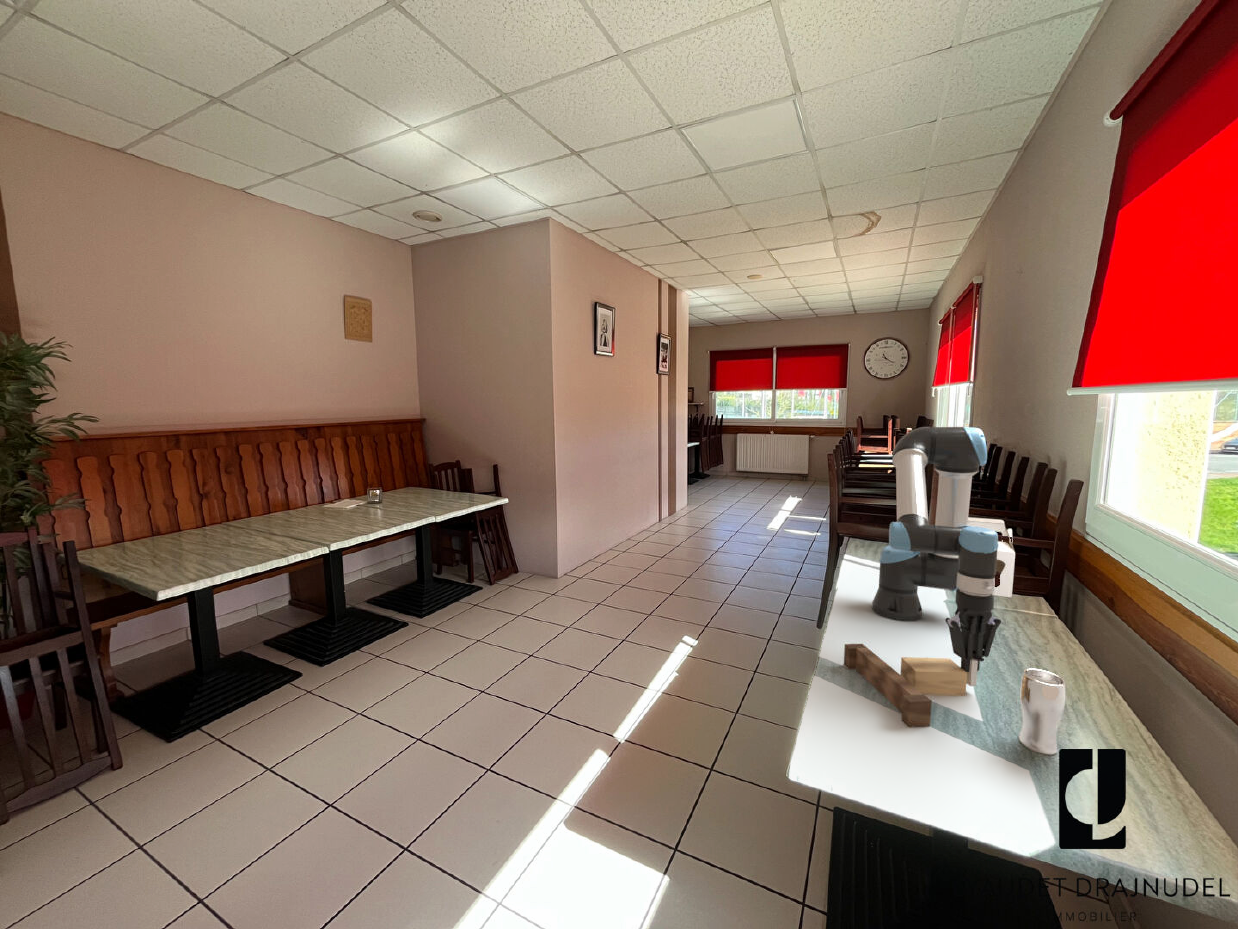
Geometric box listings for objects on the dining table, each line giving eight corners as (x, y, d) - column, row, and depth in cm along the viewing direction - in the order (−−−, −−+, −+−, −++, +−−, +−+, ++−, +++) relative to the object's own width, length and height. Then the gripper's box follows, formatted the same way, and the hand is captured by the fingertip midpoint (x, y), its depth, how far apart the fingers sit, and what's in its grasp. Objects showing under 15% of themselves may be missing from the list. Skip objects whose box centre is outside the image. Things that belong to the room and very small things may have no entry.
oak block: (900, 679, 127) (901, 657, 126) (948, 680, 126) (949, 658, 125) (914, 694, 120) (915, 671, 119) (965, 696, 119) (967, 673, 119)
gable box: (941, 588, 191) (945, 518, 188) (937, 578, 203) (941, 512, 200) (1012, 598, 181) (1018, 524, 178) (1004, 586, 193) (1009, 517, 190)
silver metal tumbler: (1064, 761, 97) (1070, 690, 95) (1019, 748, 100) (1024, 679, 99) (1056, 741, 102) (1062, 673, 101) (1013, 730, 106) (1019, 664, 105)
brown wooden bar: (843, 665, 134) (844, 644, 133) (861, 664, 134) (862, 643, 134) (908, 727, 107) (909, 701, 107) (929, 726, 108) (931, 700, 107)
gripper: (961, 598, 114) (955, 693, 117) (1013, 595, 115) (1006, 690, 118) (938, 586, 122) (933, 676, 124) (987, 585, 123) (981, 673, 125)
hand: (968, 683), depth 121 cm, fingers closed
